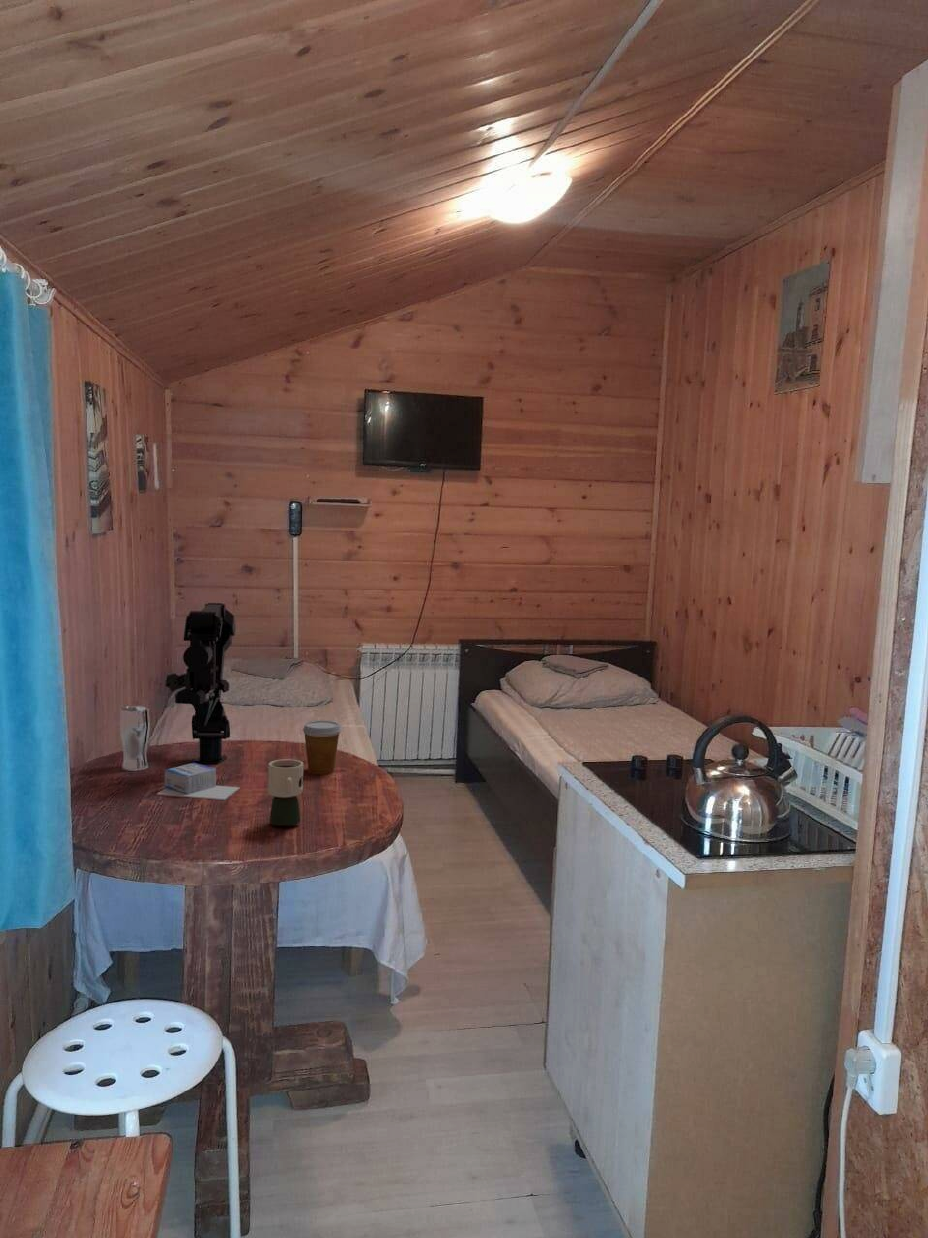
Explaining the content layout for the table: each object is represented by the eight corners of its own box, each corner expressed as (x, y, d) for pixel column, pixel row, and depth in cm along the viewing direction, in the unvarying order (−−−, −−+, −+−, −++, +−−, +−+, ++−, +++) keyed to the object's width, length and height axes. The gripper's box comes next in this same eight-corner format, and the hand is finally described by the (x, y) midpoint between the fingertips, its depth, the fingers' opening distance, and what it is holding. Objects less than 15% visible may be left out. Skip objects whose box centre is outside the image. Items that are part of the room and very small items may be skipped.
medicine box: (216, 768, 212) (186, 775, 205) (216, 786, 213) (186, 795, 206) (194, 762, 217) (164, 769, 209) (193, 780, 217) (163, 788, 210)
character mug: (306, 831, 186) (307, 769, 184) (271, 834, 183) (272, 771, 182) (297, 814, 196) (298, 755, 195) (264, 817, 194) (264, 757, 192)
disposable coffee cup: (341, 766, 235) (342, 720, 233) (338, 777, 225) (339, 729, 224) (304, 765, 234) (305, 719, 233) (299, 776, 225) (300, 728, 223)
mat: (174, 783, 215) (174, 782, 215) (239, 788, 213) (239, 787, 213) (156, 794, 206) (156, 793, 206) (224, 800, 204) (224, 799, 204)
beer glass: (143, 772, 223) (143, 712, 221) (115, 771, 223) (115, 710, 221) (153, 764, 230) (153, 706, 228) (126, 763, 230) (126, 705, 228)
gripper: (187, 655, 230) (187, 715, 232) (153, 666, 212) (153, 732, 214) (230, 657, 229) (229, 718, 231) (199, 669, 211) (198, 735, 212)
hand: (202, 726), depth 222 cm, fingers closed
